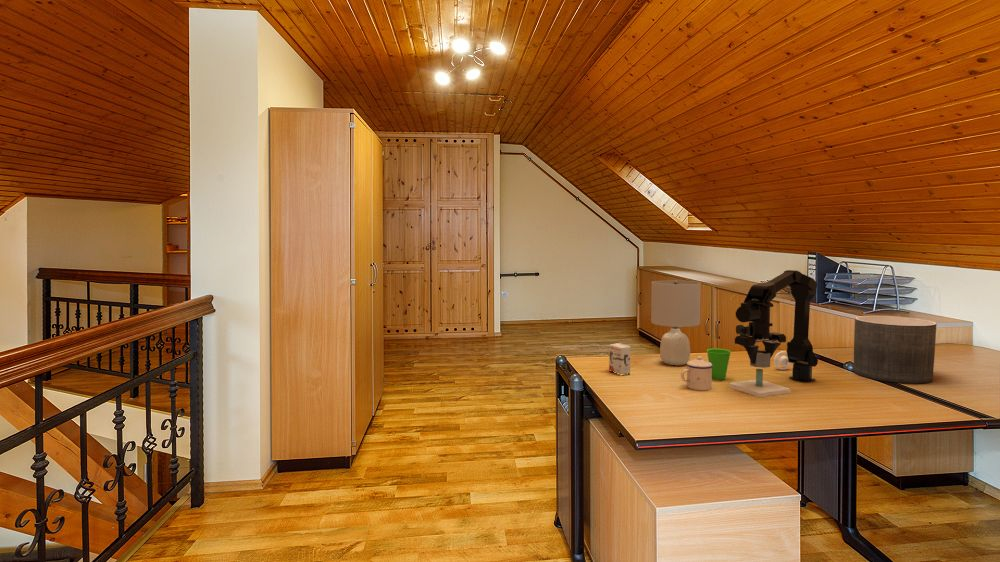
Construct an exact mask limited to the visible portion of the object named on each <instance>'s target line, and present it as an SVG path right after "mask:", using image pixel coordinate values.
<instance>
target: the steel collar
mask: <svg viewBox="0 0 1000 562" xmlns="http://www.w3.org/2000/svg"><path fill="white" fill-rule="evenodd" d="M770 354H771V353H770V352H769V351H765V349H758V351H757V356H756V360H755V363H754V364H752V363H751V361H750V360H749V365H750V366H751V367H754V368H760V369H764V368H765V369H766V368H770V367H771V359H770Z"/></svg>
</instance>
